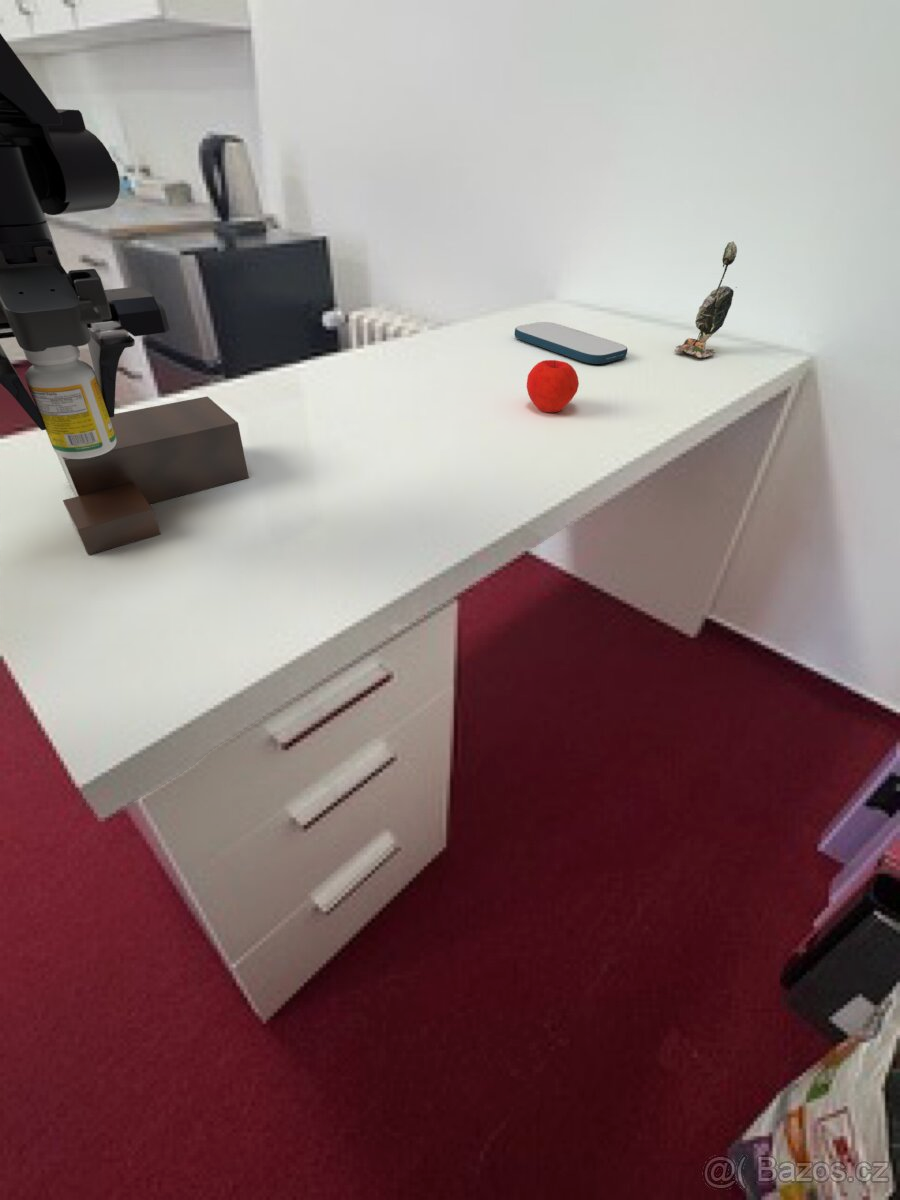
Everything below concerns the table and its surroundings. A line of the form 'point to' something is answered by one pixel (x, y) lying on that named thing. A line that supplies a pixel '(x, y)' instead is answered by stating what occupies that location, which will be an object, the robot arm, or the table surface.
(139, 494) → the step shelf
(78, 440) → the supplement bottle
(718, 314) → the plant with pod
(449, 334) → the table surface
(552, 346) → the external hard drive
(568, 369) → the apple
